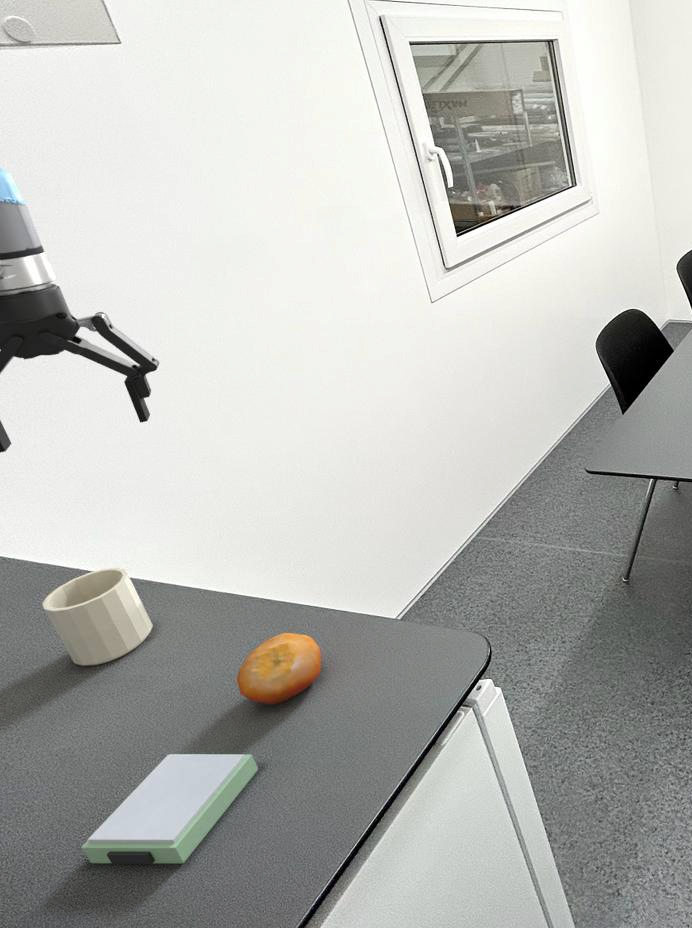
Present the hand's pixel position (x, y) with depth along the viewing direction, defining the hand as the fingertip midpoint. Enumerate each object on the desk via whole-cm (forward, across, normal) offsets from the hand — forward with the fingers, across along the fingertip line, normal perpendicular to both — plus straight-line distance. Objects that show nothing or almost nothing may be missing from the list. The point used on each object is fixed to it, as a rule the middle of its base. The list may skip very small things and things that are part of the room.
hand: (78, 433), depth 88 cm
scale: (+27, +8, -48) cm, 56 cm away
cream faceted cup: (+27, -1, -14) cm, 30 cm away
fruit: (+27, +17, -37) cm, 49 cm away
